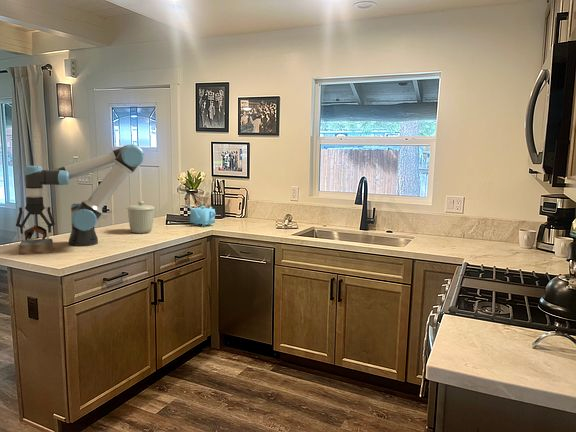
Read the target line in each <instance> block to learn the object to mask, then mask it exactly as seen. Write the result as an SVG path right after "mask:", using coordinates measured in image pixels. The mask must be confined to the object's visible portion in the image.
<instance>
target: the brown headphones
mask: <svg viewBox="0 0 576 432" xmlns="http://www.w3.org/2000/svg"><path fill="white" fill-rule="evenodd" d="M35 233H38V234H40V235H42V238H41V239H43V240H44V239H47V228H45V227H42V226H40V225H36V224H35V225H33V226H31V227H30V228H28V229H25V232H24V235H25V237H26V240H27V239H32V237H33V235H34V234H35Z"/></svg>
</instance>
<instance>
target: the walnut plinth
mask: <svg viewBox="0 0 576 432" xmlns="http://www.w3.org/2000/svg"><path fill="white" fill-rule="evenodd" d="M53 241H54V240H53V238H49V239H47V238H45V239H44V240H43V239H42V238H31V239H28V238H27V240H23V239H22V240H21V241H20V243H19V244H18V255H19V256H24V255H42V254H52V251H53V248H54V244H53V243H54V242H53Z"/></svg>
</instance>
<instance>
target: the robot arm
mask: <svg viewBox="0 0 576 432" xmlns="http://www.w3.org/2000/svg"><path fill="white" fill-rule="evenodd" d="M144 161H145V153H144V150H143V149H142V148H141V147H139V146H138V145H136V144H134V143H133V144H125V145H124V146H122V147H120V148H117V149H113V150H111V152H109V153H107V154H102V155H100V156H95V157H92V158H89V159H85V160H82V161H79V162H75V163H72V164H69V165H65V166H62V167H57V168H53V169H51V170H50V169H49V170H48V169H43V166H42V165H27V166H24V167H25V168H24V181H25V182H24V183H25V196H26V197H25V201H26V202H25V204H26V205H25V206H23V207H22V206H20V207H19V208H18V211H19V212H18V216H17V220H16V223H15V227H18V228H19V229H20V230H19V232H20V234H21V235H22V240H26V236H25V235H24V232H25V231H26V227H25V224H26V223H27V222H28V219H29V218H30V216H31V215H32V216H34V215H38V216H39V215H40V217H41V218H42V220H44V222H45V224H46V227H45V229H46V230H47V237H46V239H50V234H51V233H52V227H54V226H55V224H56V223H55V220H54V218H53V215H52V211H51V206H45V205H44V188H43V186H44V185H45V186H47V185H49V186H50V185H51V186H66V185H69V184H70V182H69V181H70V180H73V179H77V178H80V177H83V176H86V175H90V174H93V173H95V172H99V171H104V170H107V169H110V170H109V171H108V173H107V174H106V175H105V176H104V177H103V179H102V180H101V182H99V184H98V186H97V187H96V188H95V190H94V191H93V192H92V193H91V194H90V196H89V197H88V198H87V199H85V200H82V202H81V203H72V204H71V206H70V213H71V216H70V217H71V232H70V234H69V237H68V245H70V246H73V247H74V246H75V247H76V246H77V247H84V246H94V245H97V244H99V238H98V235H97V234H96V230H95V226H96V224H97V221H98V220H99V218H100V217H101V216H102V215H103V208H104V207H105V206H106V204H107V203H108V201H109V200H110V199H111V198H112V196H113V195H114V194H115V193H116V191H117V190H118V189H119V187H120V185H122V184H123V182H124V180H125V179H126V178H127V177H128V176H129V174H133V173H134V172H135V171H136V169H137V168H138V167H139V166H141V165H142V164H143V162H144ZM25 210H26V211H27V214H26V216H25V217H24V219H23V220H22V216H23V212H25ZM44 210H45V211H46V212H47V215H48V217H49V220H50V221H49V220H48V218H47V217H46V215H45V214H44V212H43V211H44ZM21 220H22V222H21Z"/></svg>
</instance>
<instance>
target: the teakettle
mask: <svg viewBox="0 0 576 432" xmlns="http://www.w3.org/2000/svg"><path fill="white" fill-rule="evenodd" d="M188 208H189V209H190V214H189V215H190V216H189V217H190V218H189V223H190V224H193V226H194V225H198V226H199V225H201V224H202V225H201V227H202V226H208V225H210V226H212V224H215V220H216V218H215V217H216V214H217V213H216V209H215V208H213V206H210V207H209V208H208V207H206V206H205V205H201V206H200V207H194V208H193V207H192V206H188Z"/></svg>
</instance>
